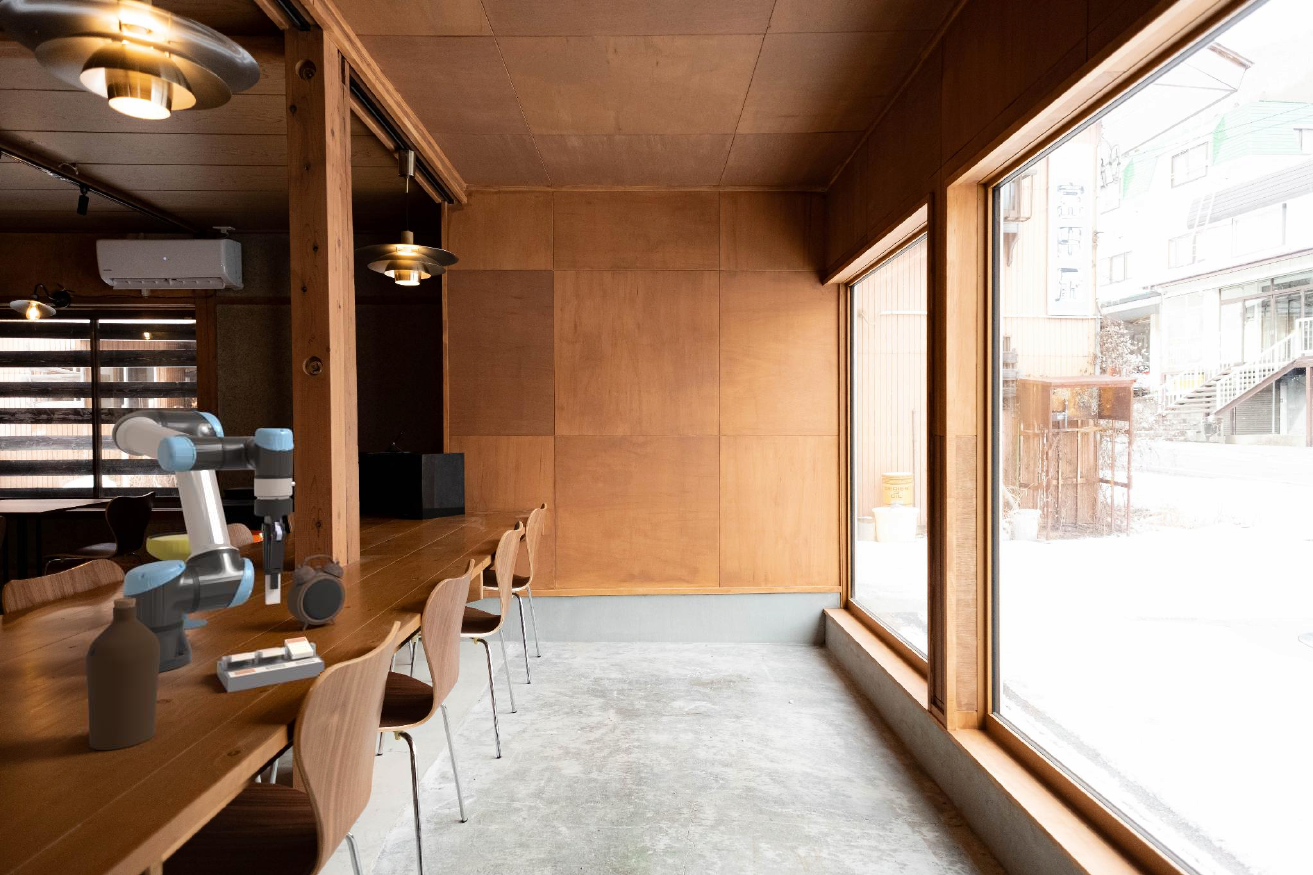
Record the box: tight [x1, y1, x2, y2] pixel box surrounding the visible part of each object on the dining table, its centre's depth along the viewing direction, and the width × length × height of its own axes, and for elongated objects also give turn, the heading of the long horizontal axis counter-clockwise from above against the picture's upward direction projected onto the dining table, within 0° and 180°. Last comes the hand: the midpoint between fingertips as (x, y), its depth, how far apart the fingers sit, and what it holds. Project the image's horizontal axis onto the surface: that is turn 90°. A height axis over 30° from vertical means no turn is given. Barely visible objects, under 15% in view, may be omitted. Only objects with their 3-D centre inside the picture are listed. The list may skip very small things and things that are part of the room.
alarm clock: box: [286, 554, 346, 631], centre depth 204 cm, size 15×7×20 cm, turn 143°
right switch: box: [284, 636, 313, 659], centre depth 169 cm, size 4×8×1 cm, turn 39°
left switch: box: [225, 651, 255, 662], centre depth 161 cm, size 4×8×1 cm, turn 39°
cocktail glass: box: [145, 531, 208, 631], centre depth 202 cm, size 18×18×25 cm
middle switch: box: [255, 647, 285, 657], centre depth 165 cm, size 4×8×1 cm, turn 39°
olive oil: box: [85, 596, 160, 751], centre depth 129 cm, size 11×11×25 cm
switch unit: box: [216, 642, 325, 693], centre depth 164 cm, size 19×14×5 cm
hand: (272, 602), depth 162 cm, fingers closed
